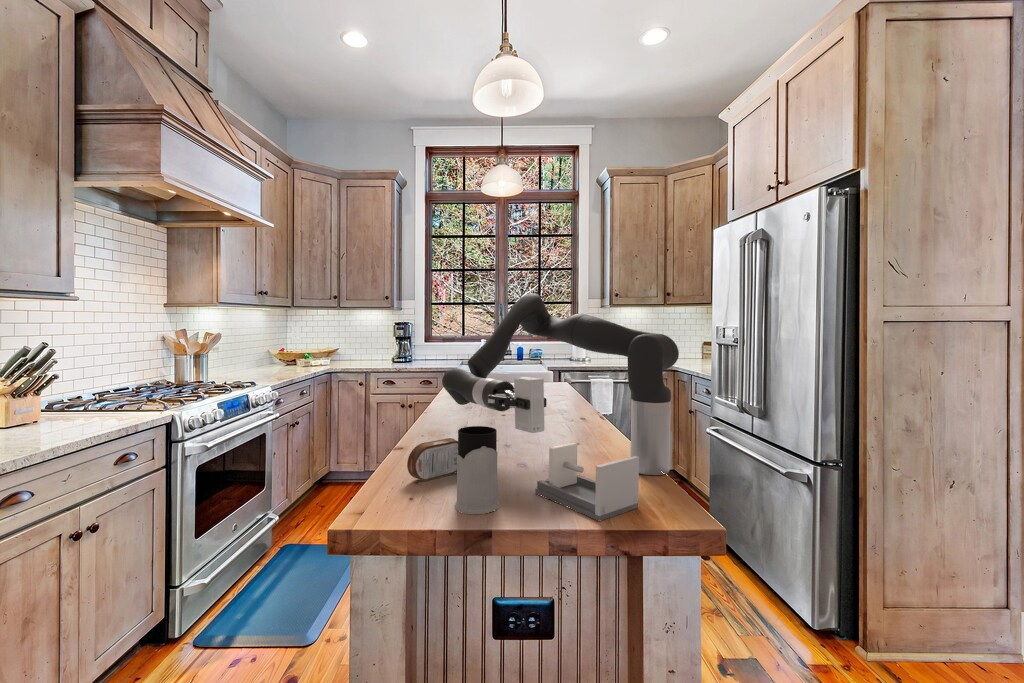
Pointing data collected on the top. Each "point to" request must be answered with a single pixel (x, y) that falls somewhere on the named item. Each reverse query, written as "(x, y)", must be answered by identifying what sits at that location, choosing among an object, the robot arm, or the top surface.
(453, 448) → the tin
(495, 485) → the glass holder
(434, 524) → the top surface
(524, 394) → the skincare box
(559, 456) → the panel
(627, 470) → the pusher lane
